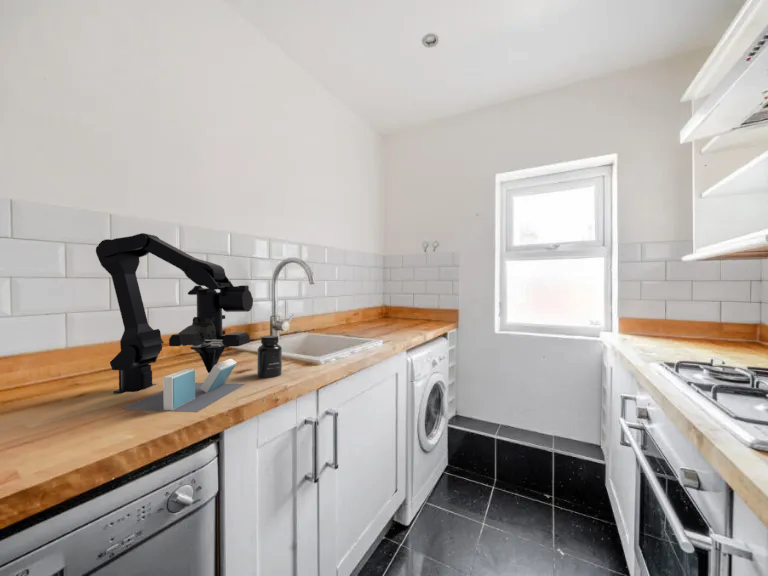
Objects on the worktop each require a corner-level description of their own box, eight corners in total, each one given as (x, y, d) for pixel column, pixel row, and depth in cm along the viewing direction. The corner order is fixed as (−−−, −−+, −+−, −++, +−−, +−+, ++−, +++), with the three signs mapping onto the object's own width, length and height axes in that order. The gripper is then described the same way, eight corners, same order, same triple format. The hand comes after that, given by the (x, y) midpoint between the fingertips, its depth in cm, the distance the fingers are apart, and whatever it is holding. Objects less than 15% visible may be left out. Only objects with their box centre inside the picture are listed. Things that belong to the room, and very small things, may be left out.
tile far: (200, 388, 78) (214, 364, 78) (217, 379, 85) (231, 358, 84) (206, 393, 78) (221, 370, 77) (224, 384, 85) (237, 363, 84)
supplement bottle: (274, 380, 89) (273, 338, 89) (252, 379, 91) (252, 338, 91) (286, 374, 96) (285, 335, 96) (266, 373, 97) (265, 334, 97)
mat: (118, 412, 67) (118, 409, 67) (183, 384, 86) (183, 382, 86) (197, 414, 66) (197, 411, 66) (245, 386, 85) (245, 383, 85)
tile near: (163, 409, 67) (163, 377, 67) (187, 398, 74) (186, 368, 74) (173, 410, 67) (172, 377, 67) (195, 398, 74) (195, 368, 74)
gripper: (150, 315, 74) (151, 381, 74) (225, 314, 72) (226, 382, 72) (184, 311, 85) (185, 368, 85) (250, 311, 83) (251, 369, 84)
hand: (210, 372), depth 81 cm, fingers closed
